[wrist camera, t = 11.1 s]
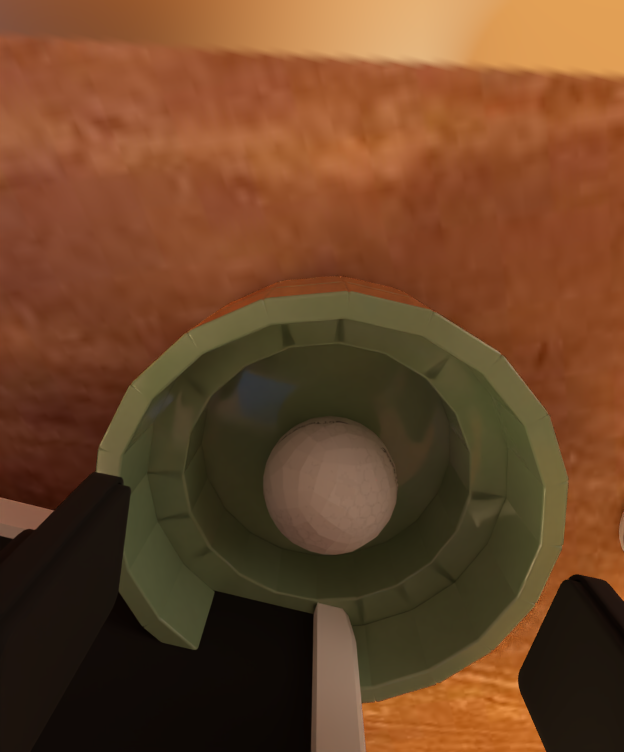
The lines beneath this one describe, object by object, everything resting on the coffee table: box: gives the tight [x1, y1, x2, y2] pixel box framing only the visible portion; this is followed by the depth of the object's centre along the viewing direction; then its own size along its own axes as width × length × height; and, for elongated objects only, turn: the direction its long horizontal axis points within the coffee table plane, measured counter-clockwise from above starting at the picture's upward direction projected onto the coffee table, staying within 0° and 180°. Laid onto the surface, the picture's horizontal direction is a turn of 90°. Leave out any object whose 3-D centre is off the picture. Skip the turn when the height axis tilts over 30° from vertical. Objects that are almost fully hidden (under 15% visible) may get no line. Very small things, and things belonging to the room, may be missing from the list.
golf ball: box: [263, 416, 398, 555], centre depth 13 cm, size 4×4×4 cm
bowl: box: [96, 276, 569, 703], centre depth 14 cm, size 12×12×5 cm
